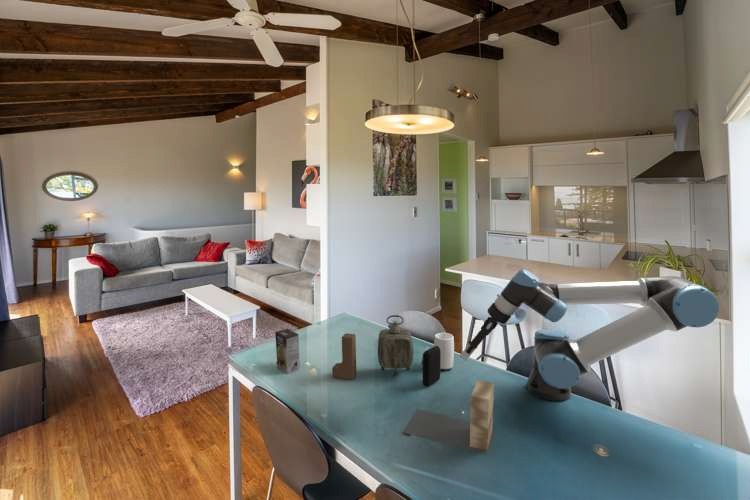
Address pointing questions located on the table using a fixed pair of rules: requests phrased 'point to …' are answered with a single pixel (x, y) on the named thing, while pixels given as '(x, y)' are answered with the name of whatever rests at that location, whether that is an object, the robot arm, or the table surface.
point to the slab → (481, 415)
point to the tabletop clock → (395, 347)
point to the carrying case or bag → (431, 365)
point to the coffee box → (287, 350)
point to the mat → (442, 429)
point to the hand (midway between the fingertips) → (467, 351)
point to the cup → (445, 349)
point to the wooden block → (346, 359)
